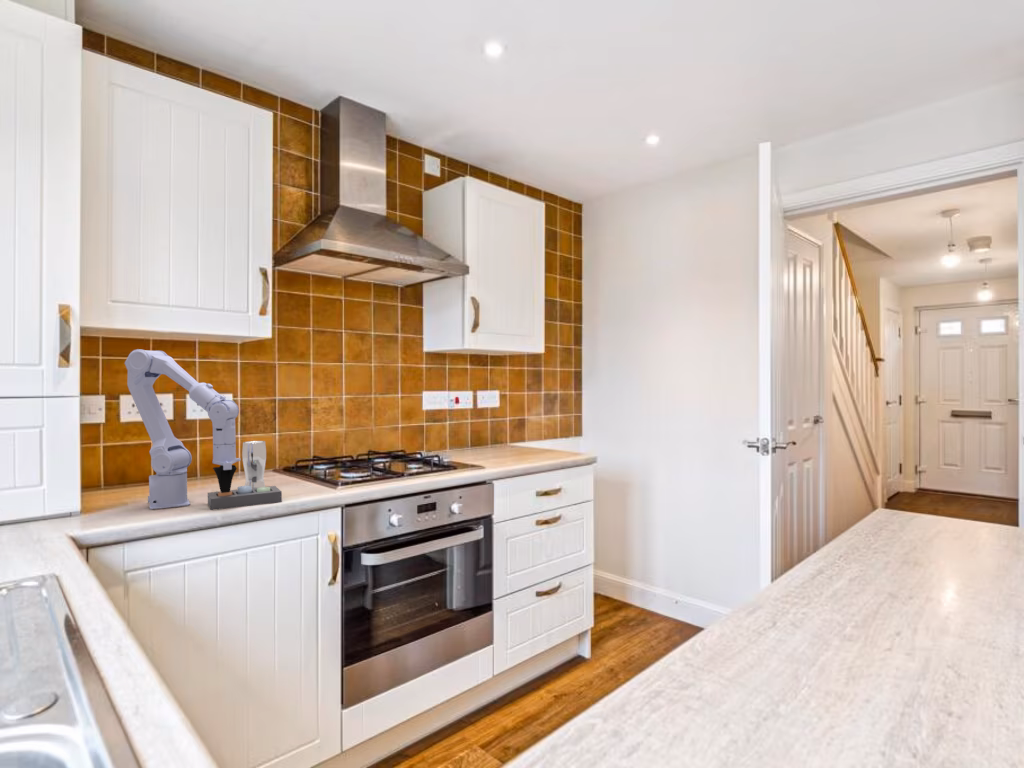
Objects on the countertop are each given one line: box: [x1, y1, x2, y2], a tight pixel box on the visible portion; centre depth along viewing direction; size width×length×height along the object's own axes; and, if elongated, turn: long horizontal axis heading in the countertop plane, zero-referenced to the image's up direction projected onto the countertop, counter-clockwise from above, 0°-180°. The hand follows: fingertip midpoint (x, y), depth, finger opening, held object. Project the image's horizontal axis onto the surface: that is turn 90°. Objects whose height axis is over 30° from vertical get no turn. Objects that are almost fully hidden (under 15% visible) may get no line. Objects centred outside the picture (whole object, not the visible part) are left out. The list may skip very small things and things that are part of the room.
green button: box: [257, 486, 270, 492], centre depth 168 cm, size 4×4×3 cm
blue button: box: [237, 485, 252, 494], centre depth 166 cm, size 4×4×3 cm
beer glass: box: [241, 440, 267, 488], centre depth 186 cm, size 7×7×15 cm
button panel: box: [207, 485, 283, 511], centre depth 166 cm, size 18×10×3 cm, turn 122°
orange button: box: [217, 491, 232, 496], centre depth 163 cm, size 4×4×3 cm
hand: (225, 492), depth 163 cm, fingers closed, pressing on orange button
